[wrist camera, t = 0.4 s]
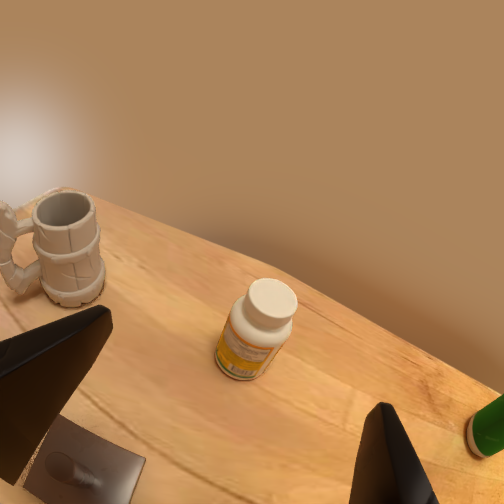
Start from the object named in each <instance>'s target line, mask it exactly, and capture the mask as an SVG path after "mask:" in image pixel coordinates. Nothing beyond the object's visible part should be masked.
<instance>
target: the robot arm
mask: <svg viewBox="0 0 504 504" xmlns="http://www.w3.org/2000/svg"><path fill="white" fill-rule="evenodd" d="M112 329H113V323H112V316H111V311H110V309H108V308H107V307H105V306H103V305H97V306H94V307H91V308H89V309H86V310H83V311H81V312H78V313H75V314H73V315H70V316H67V317H65V318H62V319H59V320H57V321H54V322H51V323H49V324H46V325H43V326H41V327H38V328H35V329H33V330H30V331H27V332H25V333H22V334H19V335H17V336H14V337H12V338H9V339H6V340H3V341H1V342H0V478H1V479H3V480H4V481H6V482H8V483H9V484H11V485H12V486H14V485H15V483H16V482H17V480H18V478H19V476H20V475H21V473H22V471H23V470H24V468H25V466H26V465H27V463H28V461H29V460H30V458H31V457H32V455H33V453H34V452H35V450H36V448H37V447H38V445H39V444H40V442H41V440H42V439H43V437H44V436H45V434H46V433H47V431H48V430H49V428H50V426H51V425H52V423H53V422H54V420H55V419H56V417H57V416H58V414H59V413H60V411H61V410H62V408H63V407H64V406H65V404H66V403H67V401H68V400H69V398H70V397H71V395H72V394H73V392H74V391H75V390H76V388H77V387H78V385H79V384H80V382H81V381H82V380H83V378H84V377H85V375H86V374H87V373H88V371H89V370H90V368H91V367H92V365H93V364H94V362H95V360H96V358H97V357H98V355H99V353H100V351H101V350H102V348H103V346H104V344H105V343H106V341H107V339H108V338H109V336H110V334H111V332H112ZM349 504H439V502H438V500H437V498H436V495H435V493H434V491H433V489H432V486H431V484H430V482H429V480H428V478H427V475H426V473H425V471H424V469H423V467H422V465H421V462H420V460H419V458H418V456H417V454H416V452H415V450H414V448H413V446H412V444H411V442H410V439H409V437H408V435H407V433H406V431H405V429H404V427H403V425H402V423H401V421H400V419H399V417H398V415H397V413H396V411H395V409H394V407H393V406H392V405H391V404H389V403H384V402H380V403H378V404H377V405H376V406H375V407H374V408H373V409H372V410H371V412H370V413H369V414H368V415H367V417H366V419H365V423H364V427H363V432H362V436H361V441H360V445H359V449H358V453H357V457H356V462H355V469H354V476H353V482H352V488H351V494H350V500H349Z"/></svg>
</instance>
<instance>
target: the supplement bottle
mask: <svg viewBox="0 0 504 504" xmlns="http://www.w3.org/2000/svg"><path fill="white" fill-rule="evenodd" d="M297 306H298V301H297V298H296V295H295V293H294V292H293V291H292V290H291V288H290V287H288V286H287V285H286V284H284V283H283V282H281V281H279V280H276V279H272V278H261V279H258V280H256V281H254V282H253V283H252V284H251V285H250V287H249V289H248V291H247V293H246V294H245V295H243V296H241V297H240V298H239V299H238V300H237V301H236V302H235V303H234V304H233V306H232V308H231V311H230V313H229V316H228V318H227V321H226V324H225V326H224V329H223V331H222V334H221V337H220V339H219V342H218V345H217V348H216V352H215V357H216V361H217V363H218V365H219V367H220V368H221V369H222V371H223V372H224V373H226V374H227V375H229V376H230V377H232V378H235V379H238V380H251V379H254V378H257V377H258V376H260V375H261V374H262V373H263V372H264V371H265V369H266V368H267V367H268V365H269V364H270V363H271V361H272V360H273V358H274V357H275V356H276V354H277V353H278V351H279V350H280V349H281V347H282V346H283V344H284V343H285V342H286V340H287V339H288V337H289V335H290V333H291V331H292V317H293V315H294V313H295V311H296V309H297Z"/></svg>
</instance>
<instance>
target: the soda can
mask: <svg viewBox="0 0 504 504" xmlns="http://www.w3.org/2000/svg"><path fill="white" fill-rule="evenodd" d="M467 442H468V445H469V447H470V449H471V451H472V452H473V453H474V454H476V455H478V456H480V457H482V458H488V457H490V456H492V455H494V454H496V453H497V452H499V451H501V450H503V449H504V394H503V395H501V396H500V397H498V398H497V399H496V400H494V401H493V402H491V403H490V404H488V405H487V406H486V407H484V408H483V409H481V410H479V411H478V412H476V413H475V414H474V415H473V416H472V418H471V420H470V423H469V426H468V428H467Z"/></svg>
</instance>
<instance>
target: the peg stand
mask: <svg viewBox="0 0 504 504" xmlns="http://www.w3.org/2000/svg"><path fill="white" fill-rule="evenodd" d="M145 461H146V458H144V457H142V456H139V455H137V454H135V453H132V452H130V451H128V450H126V449H123V448H121V447H119V446H117V445H115V444H113V443H111V442H109V441H107V440H105V439H103V438H101V437H99V436H97V435H95V434H93V433H91V432H89V431H87V430H86V429H84V428H82V427H80V426H78V425H77V424H75V423H73V422H72V421H70V420H68V419H66V418H65V417H63V416H62V415H60V414H58V416H57V417H56V419H55V420H54V422H53V423H52V425H51V427H50V429H49V431H48V433H47V435H46V437H45V439H44V441H43V443H42V445H41V447H40V450H39V452H38V454H37V456H36V458H35V460H34V462H33V465H32V467H31V469H30V471H29V474H28V476H27V478H26V481H25V483H24V485H23V488H25V489H26V490H28V491H29V492H30V493H32V494H33V495H35V496H36V497H38V498H39V499H41V500H42V501H44V502H45V503H47V504H130V501H131V499H132V496H133V493H134V491H135V488H136V485H137V483H138V480H139V477H140V475H141V472H142V469H143V467H144V464H145Z"/></svg>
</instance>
